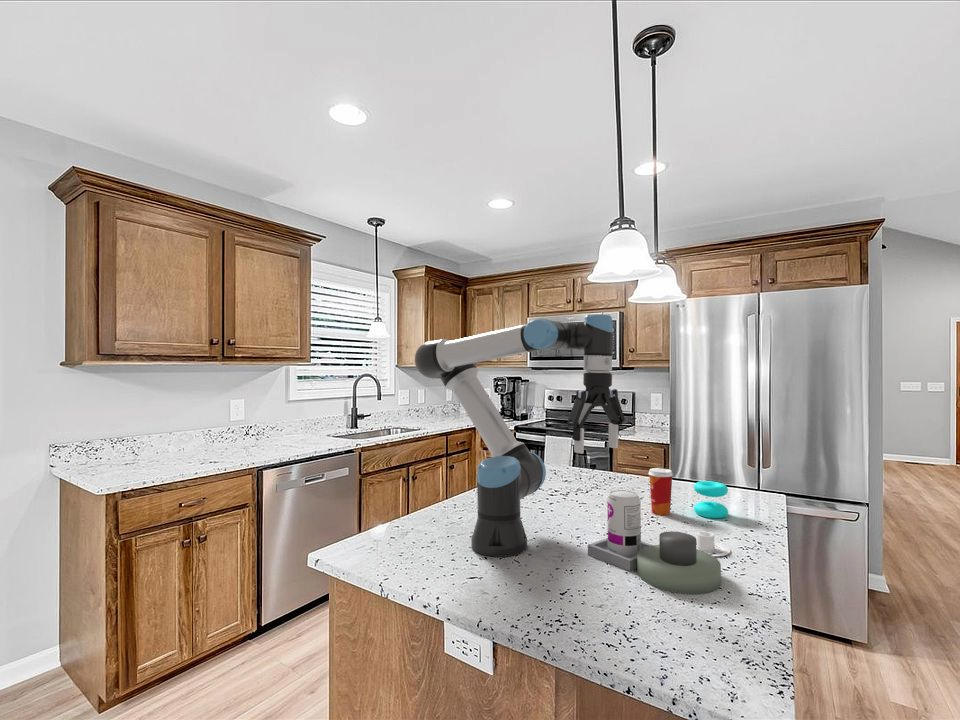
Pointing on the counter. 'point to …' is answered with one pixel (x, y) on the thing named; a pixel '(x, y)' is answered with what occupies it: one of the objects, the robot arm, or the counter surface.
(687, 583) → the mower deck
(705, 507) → the donuts
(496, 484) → the robot arm
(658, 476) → the paper cup
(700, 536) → the candle holder
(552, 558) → the counter surface
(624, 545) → the supplement can
